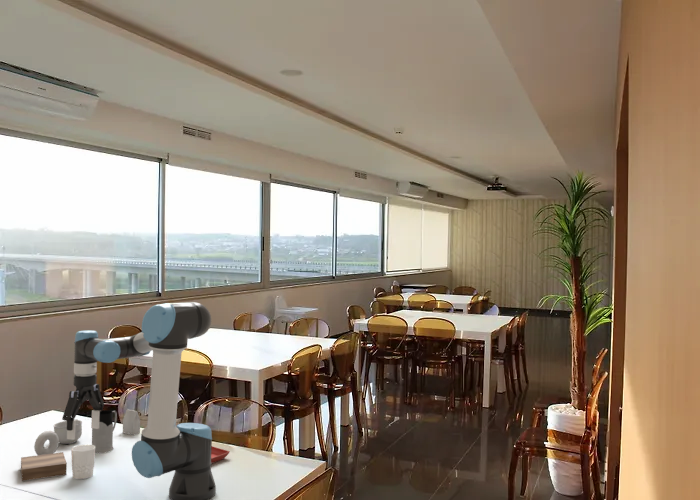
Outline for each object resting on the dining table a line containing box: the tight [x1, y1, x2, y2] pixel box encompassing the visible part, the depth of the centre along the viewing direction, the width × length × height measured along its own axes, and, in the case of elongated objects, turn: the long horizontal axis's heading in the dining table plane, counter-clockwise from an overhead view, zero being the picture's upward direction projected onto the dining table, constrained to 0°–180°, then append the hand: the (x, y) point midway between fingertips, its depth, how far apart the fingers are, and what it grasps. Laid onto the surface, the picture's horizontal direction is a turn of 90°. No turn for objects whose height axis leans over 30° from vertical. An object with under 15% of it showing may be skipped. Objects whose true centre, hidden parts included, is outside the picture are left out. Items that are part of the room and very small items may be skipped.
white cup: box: [71, 444, 96, 480], centre depth 218 cm, size 8×8×10 cm
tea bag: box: [122, 408, 141, 436], centre depth 271 cm, size 4×7×10 cm, turn 61°
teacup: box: [53, 418, 83, 445], centre depth 258 cm, size 14×11×8 cm
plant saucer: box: [211, 446, 230, 464], centre depth 237 cm, size 18×18×3 cm
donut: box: [33, 430, 60, 456], centre depth 237 cm, size 10×4×10 cm, turn 155°
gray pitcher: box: [91, 409, 118, 454], centre depth 250 cm, size 9×14×15 cm, turn 170°
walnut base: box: [20, 451, 68, 482], centre depth 221 cm, size 14×14×4 cm
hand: (83, 433), depth 218 cm, fingers open, 13 cm apart
